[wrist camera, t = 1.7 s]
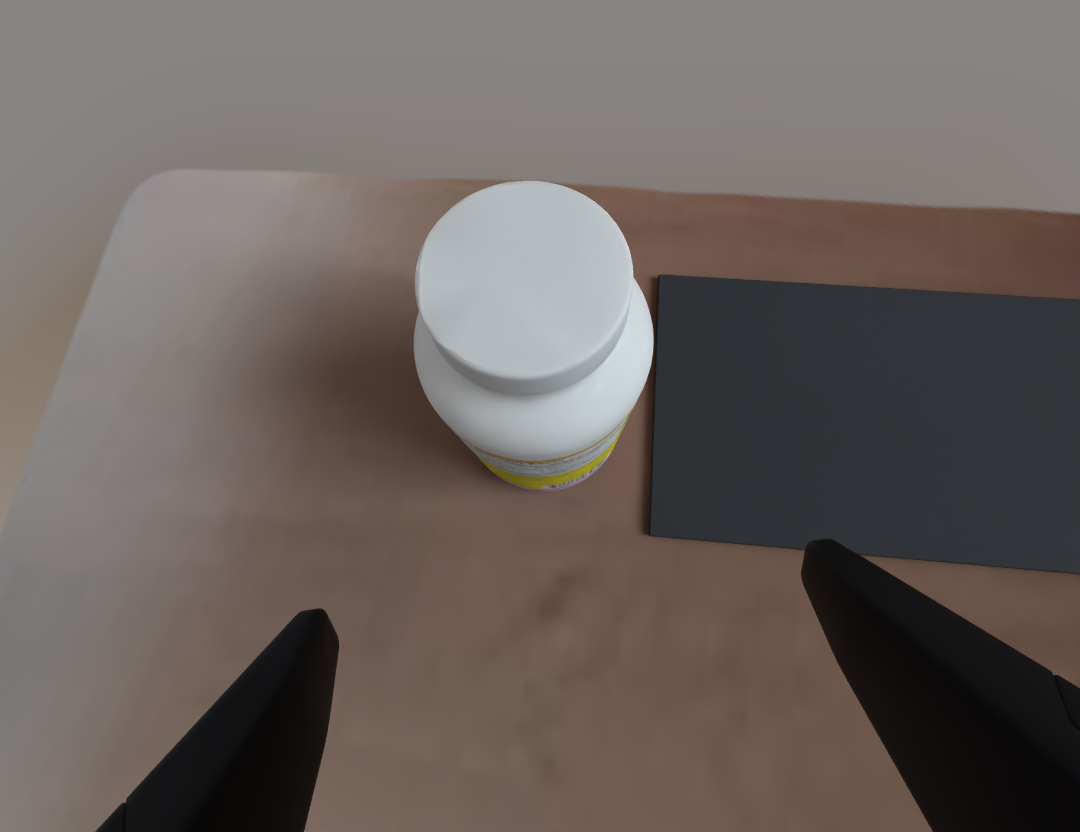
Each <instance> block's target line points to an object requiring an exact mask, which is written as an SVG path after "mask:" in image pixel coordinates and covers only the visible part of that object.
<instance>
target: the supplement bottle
mask: <svg viewBox="0 0 1080 832" xmlns="http://www.w3.org/2000/svg"><path fill="white" fill-rule="evenodd" d="M415 293H416V300H417V305H418V309H419V313H418V317H417V321H416V326H415V332H414V357H415V363H416V369H417V373H418V377H419V380H420V382H421V385H422V388H423V390H424V392H425V394H426V396H427V398H428V400H429V402H430V403H431V405H432V406H433V408H434V409H435V411H436V412H437V413H438V415H439V416H440V417H441V418H442V419H443V421H444V422H445V423H446V424H447V425H448V426H449V427H450V428H451V429H452V431H453V432H454V433H455V434H456V435H458V437H459V438H460V439H461V440H462V441H463V442H464V443H465V444H466V445H467V446H468V447H469V448H470V449H471V450H472V451H473V452H474V453H475V455H476V456H477V457H478V458H479V459H480V460H481V461H482V462H483V463H484V464H485V465H486V466H487V467H488V468H489V469H490V470H491V471H492V472H493V473H494V474H495V475H497V476H498V477H500V478H501V479H503V480H504V481H506V482H508V483H510V484H512V485H515V486H517V487H520V488H524V489H528V490H533V491H554V490H560V489H564V488H568V487H570V486H573V485H575V484H577V483H580V482H581V481H583V480H585V479H586V478H588V477H589V476H591V475H592V474H593V473H594V472H595V471H597V470H598V469H599V468H600V467H601V466H602V464H603V463H604V462H605V461H606V459H607V458H608V457H609V455H610V454H611V452H612V450H613V448H614V446H615V444H616V442H617V440H618V438H619V436H620V434H621V432H622V430H623V428H624V426H625V424H626V422H627V419H628V417H629V415H630V414H631V412H632V410H633V408H634V406H635V404H636V402H637V400H638V398H639V396H640V394H641V392H642V390H643V387H644V385H645V383H646V380H647V377H648V374H649V371H650V367H651V362H652V356H653V344H654V337H653V326H652V321H651V315H650V312H649V308H648V306H647V303H646V300H645V297H644V295H643V293H642V291H641V289H640V287H639V286H638V284H637V282H636V280H635V279H634V278H633V266H632V259H631V255H630V251H629V248H628V245H627V243H626V240H625V238H624V236H623V234H622V232H621V231H620V229H619V227H618V226H617V224H616V223H615V222H614V220H613V219H612V218H611V217H610V216H609V214H608V213H607V212H606V211H605V210H604V209H602V208H601V207H600V206H599V205H598V204H596V203H595V202H594V201H592V200H591V199H589V198H588V197H586V196H585V195H583V194H581V193H579V192H577V191H574V190H572V189H570V188H567V187H564V186H561V185H557V184H553V183H548V182H539V181H517V182H507V183H502V184H497V185H494V186H491V187H488V188H484V189H482V190H480V191H478V192H475V193H473V194H471V195H469V196H468V197H466V198H464V199H463V200H461V201H460V202H458V203H457V204H456V205H455V206H453V207H452V208H451V209H450V210H449V211H447V212H446V213H445V214H444V215H443V216H442V217H441V218H440V220H439V221H438V222H437V223H436V224H435V226H434V227H433V228H432V230H431V232H430V233H429V235H428V236H427V238H426V240H425V242H424V244H423V246H422V249H421V251H420V254H419V258H418V262H417V266H416V273H415Z"/></svg>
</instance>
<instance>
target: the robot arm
mask: <svg viewBox="0 0 1080 832" xmlns="http://www.w3.org/2000/svg"><path fill="white" fill-rule="evenodd" d="M801 577H802V582H803V585H804V588H805V590H806V592H807V594H808V597H809V599H810V601H811V604H812V606H813V608H814V610H815V613H816V615H817V617H818V620H819V622H820V624H821V626H822V629H823V631H824V633H825V636H826V638H827V640H828V642H829V645H830V647H831V649H832V652H833V654H834V656H835V658H836V660H837V662H838V664H839V666H840V668H841V670H842V672H843V674H844V675H845V677H846V679H847V681H848V683H849V684H850V686H851V688H852V690H853V691H854V693H855V695H856V697H857V698H858V700H859V702H860V704H861V706H862V707H863V709H864V711H865V713H866V714H867V716H868V718H869V720H870V721H871V723H872V725H873V727H874V729H875V730H876V732H877V734H878V736H879V737H880V739H881V741H882V743H883V744H884V746H885V748H886V750H887V751H888V753H889V755H890V757H891V759H892V760H893V762H894V764H895V766H896V767H897V769H898V771H899V773H900V774H901V776H902V778H903V780H904V782H905V783H906V785H907V787H908V789H909V790H910V792H911V794H912V796H913V797H914V799H915V801H916V803H917V804H918V806H919V808H920V810H921V812H922V813H923V815H924V817H925V819H926V820H927V822H928V824H929V826H930V827H931V829H932V831H933V832H1080V688H1079V687H1077V686H1075V685H1074V684H1072V683H1070V682H1069V681H1067V680H1065V679H1064V678H1062V677H1060V676H1058V675H1054V676H1053V673H1052V672H1051V671H1050V670H1048V669H1047V668H1045V667H1043V666H1042V665H1040V664H1039V663H1037V662H1035V661H1034V660H1032V659H1030V658H1029V657H1027V656H1025V655H1024V654H1022V653H1020V652H1019V651H1017V650H1015V649H1014V648H1012V647H1010V646H1009V645H1007V644H1005V643H1004V642H1002V641H1000V640H999V639H997V638H996V637H994V636H992V635H991V634H989V633H987V632H986V631H984V630H982V629H981V628H979V627H977V626H976V625H974V624H972V623H971V622H969V621H967V620H966V619H964V618H962V617H961V616H959V615H957V614H956V613H954V612H953V611H951V610H949V609H948V608H946V607H944V606H943V605H941V604H939V603H938V602H936V601H934V600H933V599H931V598H929V597H928V596H926V595H924V594H923V593H921V592H919V591H918V590H916V589H914V588H913V587H911V586H910V585H908V584H906V583H905V582H903V581H901V580H900V579H898V578H896V577H895V576H893V575H891V574H890V573H888V572H886V571H885V570H883V569H881V568H880V567H878V566H876V565H875V564H873V563H871V562H870V561H868V560H867V559H865V558H863V557H862V556H860V555H858V554H857V553H855V552H853V551H852V550H850V549H848V548H847V547H845V546H843V545H842V544H840V543H838V542H837V541H835V540H832V539H821V540H813V541H810V542H808V544H807V545H806V548H805V554H804V559H803V565H802V570H801ZM338 652H339V640H338V636H337V634H336V631H335V629H334V627H333V625H332V623H331V621H330V619H329V617H328V615H327V613H326V612H325V610H323V609H320V608H319V609H312V610H305V611H301V612H299V613H298V614H297V615H296V616H295V617H294V618H293V619H292V620H291V621H290V622H289V623H288V624H287V626H286V627H285V628H284V629H283V630H282V631H281V632H280V633H279V634H278V635H277V636H276V637H275V639H274V640H273V641H272V642H271V643H270V644H269V645H268V646H267V647H266V648H265V649H264V650H263V651H262V653H261V654H260V655H259V656H258V657H257V658H256V659H255V660H254V661H253V662H252V663H251V664H250V665H249V667H248V668H247V669H246V670H245V671H244V672H243V673H242V674H241V675H240V676H239V677H238V678H237V680H236V681H235V682H234V683H233V684H232V685H231V686H230V687H229V688H228V689H227V690H226V691H225V692H224V694H223V695H222V696H221V697H220V698H219V699H218V700H217V701H216V702H215V703H214V704H213V705H212V707H211V708H210V709H209V710H208V711H207V712H206V713H205V714H204V715H203V716H202V717H201V718H200V719H199V721H198V722H197V723H196V724H195V725H194V726H193V727H192V728H191V729H190V730H189V731H188V732H187V734H186V735H185V736H184V737H183V738H182V739H181V740H180V741H179V742H178V743H177V744H176V745H175V746H174V748H173V749H172V750H171V751H170V752H169V753H168V754H167V755H166V756H165V757H164V758H163V759H162V761H161V762H160V763H159V764H158V765H157V766H156V767H155V768H154V769H153V770H152V771H151V772H150V773H149V775H148V776H147V777H146V778H145V779H144V780H143V781H142V782H141V783H140V784H139V785H138V786H137V788H136V789H135V790H134V791H133V792H132V793H131V794H130V795H129V796H128V797H127V799H126V803H122V804H121V805H120V806H119V807H118V808H117V809H116V810H115V811H114V812H113V813H112V814H111V815H110V816H109V817H108V819H107V820H106V821H105V822H104V823H103V824H102V825H101V826H100V827H99V828H98V829H97V830H96V831H95V832H304V830H305V825H306V821H307V817H308V813H309V809H310V805H311V801H312V796H313V792H314V788H315V784H316V780H317V776H318V771H319V767H320V763H321V759H322V755H323V751H324V746H325V742H326V737H327V732H328V726H329V719H330V712H331V704H332V697H333V689H334V682H335V674H336V667H337V659H338Z"/></svg>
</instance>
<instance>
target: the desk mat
mask: <svg viewBox="0 0 1080 832" xmlns="http://www.w3.org/2000/svg"><path fill="white" fill-rule="evenodd" d="M649 536H657V537H669V538H680V539H691V540H702V541H714V542H725V543H736V544H747V545H759V546H770V547H781V548H792V549H804V550H805V548H806V545H807V544H808V542H810V541H813V540H821V539H832V540H835V541H837V542H838V543H840V544H842V545H843V546H845V547H847V548H848V549H850V550H852V551H853V552H855V553H857V554H860V555H871V556H882V557H894V558H905V559H916V560H927V561H939V562H950V563H961V564H972V565H984V566H995V567H1006V568H1017V569H1029V570H1040V571H1051V572H1062V573H1074V574H1080V300H1076V299H1059V298H1042V297H1026V296H1009V295H992V294H976V293H959V292H942V291H926V290H909V289H892V288H876V287H859V286H842V285H825V284H809V283H792V282H775V281H759V280H742V279H725V278H709V277H692V276H675V275H659V277H658V298H657V325H656V353H655V380H654V407H653V434H652V462H651V489H650V516H649Z"/></svg>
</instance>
